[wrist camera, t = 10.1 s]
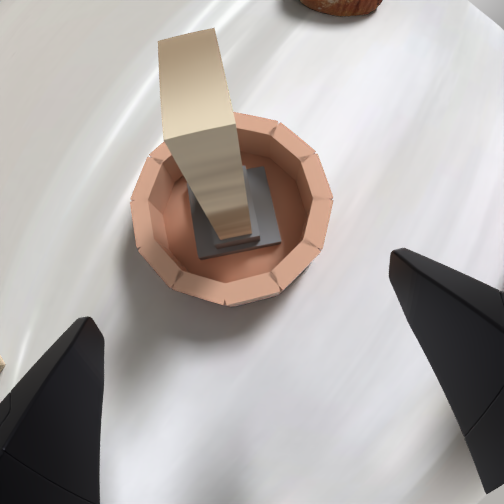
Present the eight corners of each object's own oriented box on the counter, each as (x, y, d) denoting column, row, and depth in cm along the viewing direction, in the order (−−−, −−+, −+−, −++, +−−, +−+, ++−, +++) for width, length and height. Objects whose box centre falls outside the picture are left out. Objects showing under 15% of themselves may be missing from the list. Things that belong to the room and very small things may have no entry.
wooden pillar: (280, 244, 20) (305, 129, 7) (200, 260, 20) (105, 174, 7) (264, 171, 21) (261, 12, 8) (189, 186, 21) (112, 47, 8)
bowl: (231, 341, 19) (224, 346, 16) (122, 218, 21) (99, 202, 18) (353, 218, 20) (369, 200, 17) (237, 116, 22) (233, 86, 19)
